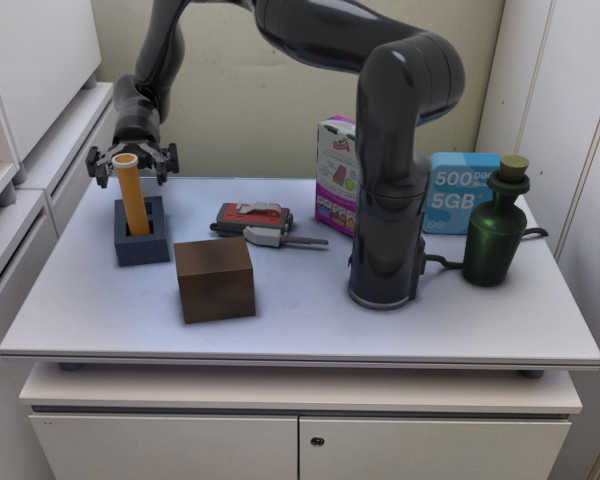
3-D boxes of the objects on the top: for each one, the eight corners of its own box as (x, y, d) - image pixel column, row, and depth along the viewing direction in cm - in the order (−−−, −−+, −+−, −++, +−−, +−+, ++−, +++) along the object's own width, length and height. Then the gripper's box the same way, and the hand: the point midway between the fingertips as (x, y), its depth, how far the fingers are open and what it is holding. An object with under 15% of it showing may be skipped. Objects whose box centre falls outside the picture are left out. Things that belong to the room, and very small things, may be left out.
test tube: (154, 243, 96) (137, 152, 85) (155, 255, 94) (137, 163, 83) (132, 245, 96) (111, 154, 85) (132, 257, 93) (111, 165, 82)
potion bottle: (493, 257, 94) (526, 144, 81) (519, 286, 89) (558, 171, 76) (447, 264, 93) (472, 150, 80) (470, 294, 88) (502, 178, 74)
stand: (247, 282, 89) (244, 235, 83) (255, 315, 84) (253, 267, 78) (181, 290, 88) (173, 243, 82) (185, 324, 82) (176, 276, 76)
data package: (420, 233, 99) (432, 164, 90) (417, 219, 102) (429, 151, 93) (491, 235, 99) (511, 165, 90) (486, 221, 102) (505, 153, 93)
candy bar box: (380, 233, 99) (393, 134, 87) (360, 244, 97) (370, 144, 85) (333, 208, 104) (338, 112, 93) (313, 218, 102) (315, 121, 90)
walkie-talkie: (206, 242, 97) (327, 254, 95) (203, 217, 93) (328, 229, 91) (220, 215, 103) (333, 225, 101) (217, 191, 99) (335, 201, 97)
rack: (165, 217, 102) (161, 195, 99) (170, 261, 93) (166, 238, 90) (119, 221, 101) (114, 199, 98) (119, 266, 92) (114, 244, 89)
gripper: (89, 115, 97) (76, 159, 86) (176, 112, 99) (174, 155, 88) (99, 160, 103) (89, 206, 92) (182, 156, 104) (181, 202, 93)
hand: (131, 181), depth 90 cm, fingers open, 8 cm apart
